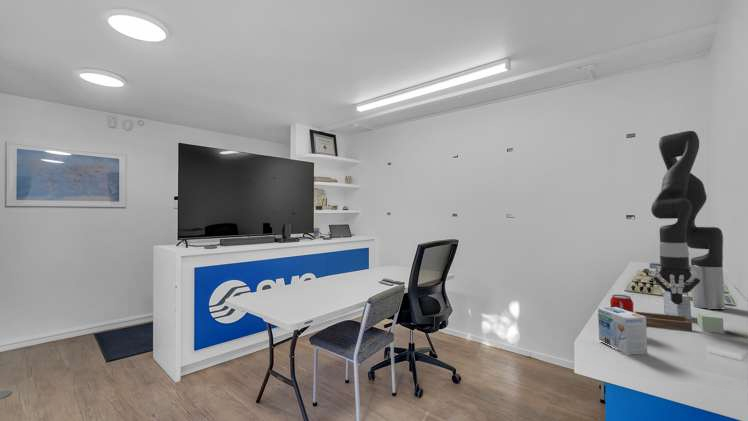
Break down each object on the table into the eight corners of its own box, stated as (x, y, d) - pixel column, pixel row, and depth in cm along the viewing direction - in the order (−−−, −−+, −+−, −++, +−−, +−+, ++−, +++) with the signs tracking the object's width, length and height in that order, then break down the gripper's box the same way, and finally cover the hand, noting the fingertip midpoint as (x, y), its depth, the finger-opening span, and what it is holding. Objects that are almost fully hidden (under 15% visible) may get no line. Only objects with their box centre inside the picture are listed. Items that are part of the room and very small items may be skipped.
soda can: (630, 329, 113) (628, 294, 113) (638, 335, 107) (636, 299, 107) (608, 327, 115) (607, 293, 115) (615, 334, 109) (613, 298, 109)
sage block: (697, 326, 114) (697, 312, 114) (717, 328, 111) (717, 314, 111) (702, 331, 109) (702, 316, 110) (723, 333, 107) (722, 318, 107)
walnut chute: (635, 318, 124) (634, 311, 124) (684, 323, 117) (684, 316, 117) (639, 324, 117) (639, 317, 117) (692, 330, 110) (691, 323, 110)
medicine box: (692, 320, 120) (690, 296, 121) (677, 319, 121) (676, 296, 121) (676, 313, 128) (675, 291, 128) (663, 313, 129) (662, 291, 129)
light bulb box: (598, 341, 103) (596, 307, 103) (618, 340, 104) (616, 306, 104) (627, 356, 93) (625, 317, 93) (649, 354, 93) (647, 316, 93)
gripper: (695, 253, 115) (698, 302, 115) (647, 253, 122) (650, 299, 122) (703, 256, 109) (706, 308, 109) (652, 255, 116) (655, 304, 115)
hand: (676, 303), depth 115 cm, fingers closed
